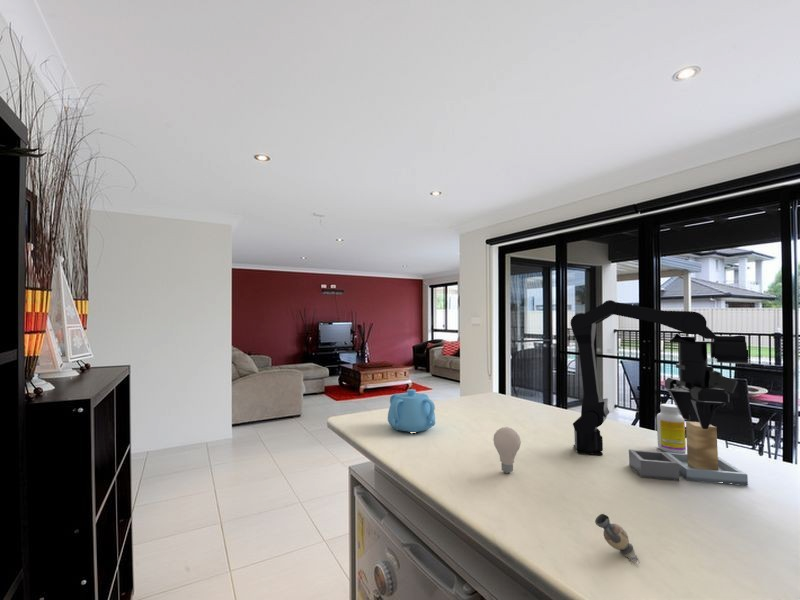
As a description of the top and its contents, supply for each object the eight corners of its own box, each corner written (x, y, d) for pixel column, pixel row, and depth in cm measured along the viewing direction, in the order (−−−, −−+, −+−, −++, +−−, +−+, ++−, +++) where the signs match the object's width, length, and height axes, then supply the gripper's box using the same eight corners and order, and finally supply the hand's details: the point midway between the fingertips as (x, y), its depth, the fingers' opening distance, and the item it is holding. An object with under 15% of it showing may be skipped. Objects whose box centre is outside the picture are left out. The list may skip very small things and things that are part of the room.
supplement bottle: (690, 455, 106) (689, 408, 106) (664, 453, 107) (662, 407, 108) (678, 447, 112) (676, 403, 113) (653, 445, 113) (652, 402, 114)
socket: (641, 477, 90) (640, 460, 90) (629, 465, 98) (628, 449, 98) (679, 481, 88) (678, 463, 88) (664, 468, 96) (663, 452, 96)
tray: (687, 480, 89) (686, 469, 89) (664, 461, 100) (664, 452, 100) (747, 485, 86) (747, 474, 86) (717, 466, 97) (717, 456, 97)
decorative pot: (385, 436, 123) (386, 393, 123) (389, 422, 139) (389, 385, 139) (435, 437, 122) (435, 394, 123) (433, 423, 138) (433, 385, 139)
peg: (696, 472, 91) (694, 426, 92) (687, 465, 96) (685, 421, 96) (718, 474, 90) (716, 427, 91) (708, 466, 95) (706, 422, 95)
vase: (601, 562, 58) (598, 521, 59) (592, 545, 64) (590, 507, 64) (640, 567, 57) (637, 525, 58) (628, 549, 62) (625, 510, 63)
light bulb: (521, 469, 95) (520, 425, 95) (521, 479, 89) (520, 432, 89) (494, 466, 97) (494, 422, 98) (492, 476, 91) (491, 429, 91)
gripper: (756, 366, 84) (759, 437, 83) (709, 358, 102) (711, 416, 101) (698, 364, 87) (700, 433, 86) (663, 357, 105) (664, 414, 104)
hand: (695, 423), depth 94 cm, fingers open, 9 cm apart
